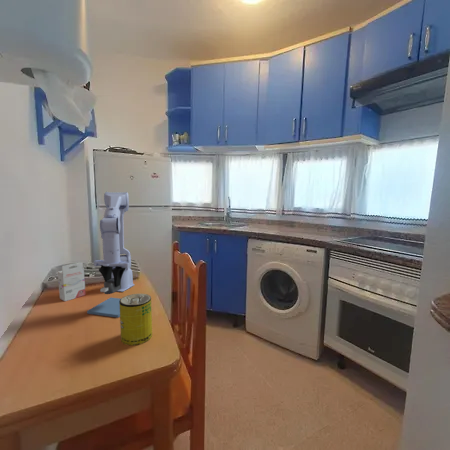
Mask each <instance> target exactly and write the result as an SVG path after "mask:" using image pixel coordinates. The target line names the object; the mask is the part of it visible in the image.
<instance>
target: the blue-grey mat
mask: <svg viewBox="0 0 450 450" xmlns="http://www.w3.org/2000/svg"><path fill="white" fill-rule="evenodd" d="M120 299H121V298H118V297H108V298H107V299H106V300H104V301H102V302H100V303H98V304H97V305H95V306H93V307H92V308H90V309H88V310H87V311H86V314H88V315H96V316H101V317H102V316H103V317H111V318H117V319H118V318H119V319H120V304H119V301H120Z"/></svg>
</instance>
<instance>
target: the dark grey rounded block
mask: <svg viewBox="0 0 450 450" xmlns="http://www.w3.org/2000/svg"><path fill="white" fill-rule="evenodd" d="M119 289H121V282H120V285H119V286H117V287H115V284H114V278H112V279H110V280H108V281H106V282H105V281H104V282H103V287H102V288H100V293H104V294H105V295H112V294H114V293H116V292H119V291H118V290H119Z"/></svg>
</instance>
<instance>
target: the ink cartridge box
mask: <svg viewBox="0 0 450 450" xmlns="http://www.w3.org/2000/svg"><path fill="white" fill-rule="evenodd" d="M57 280H58V282H57V283H58V293H59V299H60V300H62V301H64V302H68V301H70V300H73V299H78V298H81V297H84V296H86V282H85V281H86V280H85V269H84V263H83V262H82V261H81V262H76V263H75V262H74V263H70V264H66V265H62V266H61V270H60V271H57Z"/></svg>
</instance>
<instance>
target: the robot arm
mask: <svg viewBox="0 0 450 450" xmlns="http://www.w3.org/2000/svg"><path fill="white" fill-rule="evenodd" d="M103 194H104V195H103V201H104V202H103V203H104V205H105V208H106V209H105V211H104V214H103V218H102V219H100V220H99V231H100V236H101V237H100V238H101V239H102V253H103V255H102V256H103V257H102V258H103V259H96V260H93V265H94V266H93V267H98V266H99V268H98V271H99V272H100V274H101V276H102V278H103V280H104V282H106V281H108V280H110V279H112V278H114V284H115V287H117V286H119V285H120V282H121V289H119V290H118V291H117V292H118V293H119V292H121V293H122V292H125V291H127V290H129V289H130V288H132V287H134V286H135V283H134V279H133V278H134V277H133V269H131V267H132V256H131V252H130V250H129V249H127V248H126V247H125V232H124V231H125V230H124V229H125V228H124V225H125V224H124V217H125V213H126V212H128V211H129V209H130V205H129V204H130V198H129V197H130V196H129V193H128V191H125V192H124V191H122V192H121V191H118V192H115V191H114V192H113V191H112V192H111V191H105V192H104V193H103Z"/></svg>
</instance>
